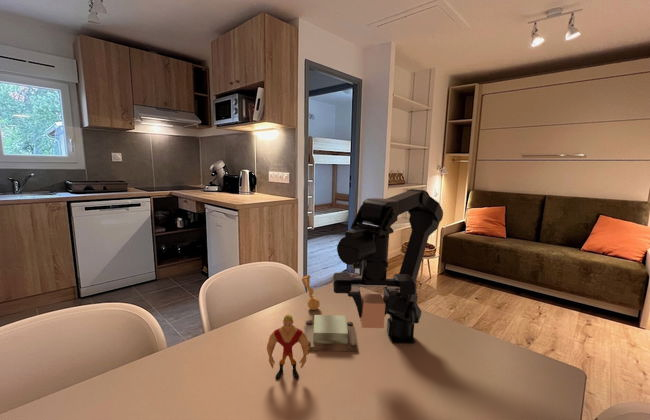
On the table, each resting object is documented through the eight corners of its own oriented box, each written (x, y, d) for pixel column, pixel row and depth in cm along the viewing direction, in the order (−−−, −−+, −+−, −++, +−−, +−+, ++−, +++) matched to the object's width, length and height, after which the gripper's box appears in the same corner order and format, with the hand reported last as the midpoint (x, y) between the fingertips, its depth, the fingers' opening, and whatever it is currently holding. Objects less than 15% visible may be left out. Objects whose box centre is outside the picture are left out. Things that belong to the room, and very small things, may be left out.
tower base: (352, 325, 88) (353, 313, 88) (357, 351, 77) (358, 337, 76) (305, 324, 88) (306, 311, 88) (303, 350, 76) (303, 335, 76)
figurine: (321, 315, 94) (322, 279, 92) (302, 316, 93) (303, 280, 91) (317, 302, 102) (318, 269, 100) (300, 303, 101) (300, 270, 99)
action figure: (265, 381, 65) (265, 318, 63) (267, 369, 69) (267, 310, 66) (308, 381, 66) (309, 318, 63) (308, 369, 69) (309, 310, 67)
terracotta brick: (379, 316, 73) (380, 293, 72) (383, 328, 68) (385, 303, 67) (359, 316, 73) (360, 293, 72) (362, 327, 68) (363, 303, 67)
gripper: (405, 245, 76) (400, 301, 79) (332, 243, 76) (330, 300, 78) (419, 259, 65) (414, 324, 68) (335, 257, 65) (332, 323, 67)
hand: (371, 317), depth 71 cm, fingers closed on terracotta brick, 5 cm apart
